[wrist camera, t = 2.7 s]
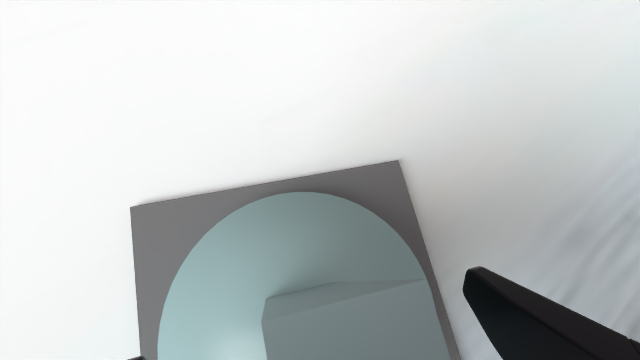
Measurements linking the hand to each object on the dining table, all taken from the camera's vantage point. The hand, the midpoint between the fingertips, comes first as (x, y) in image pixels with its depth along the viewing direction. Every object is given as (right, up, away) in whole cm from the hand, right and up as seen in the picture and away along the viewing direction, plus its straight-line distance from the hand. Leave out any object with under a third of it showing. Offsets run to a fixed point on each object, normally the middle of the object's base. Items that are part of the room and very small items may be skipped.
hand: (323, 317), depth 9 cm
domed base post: (-1, -3, +6) cm, 7 cm away
